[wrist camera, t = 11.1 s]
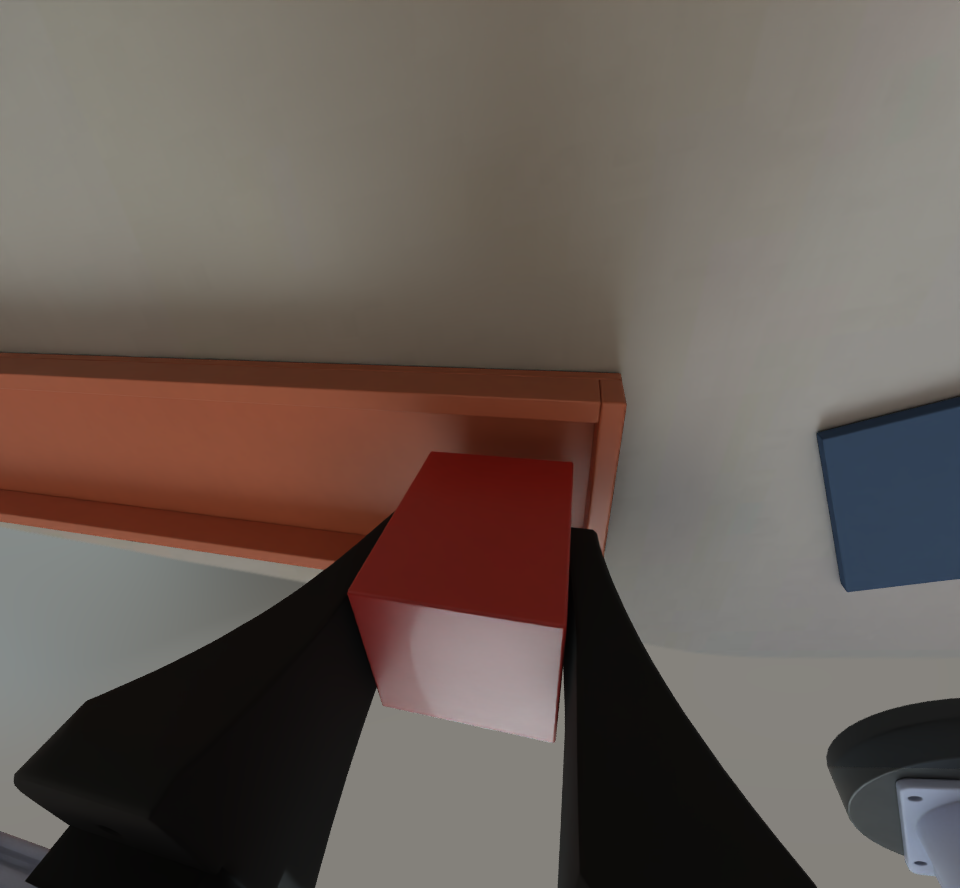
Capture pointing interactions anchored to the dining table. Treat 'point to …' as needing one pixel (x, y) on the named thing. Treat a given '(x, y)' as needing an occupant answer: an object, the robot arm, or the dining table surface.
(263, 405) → the red tray
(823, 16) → the dining table surface
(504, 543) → the red block
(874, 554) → the blue mat
